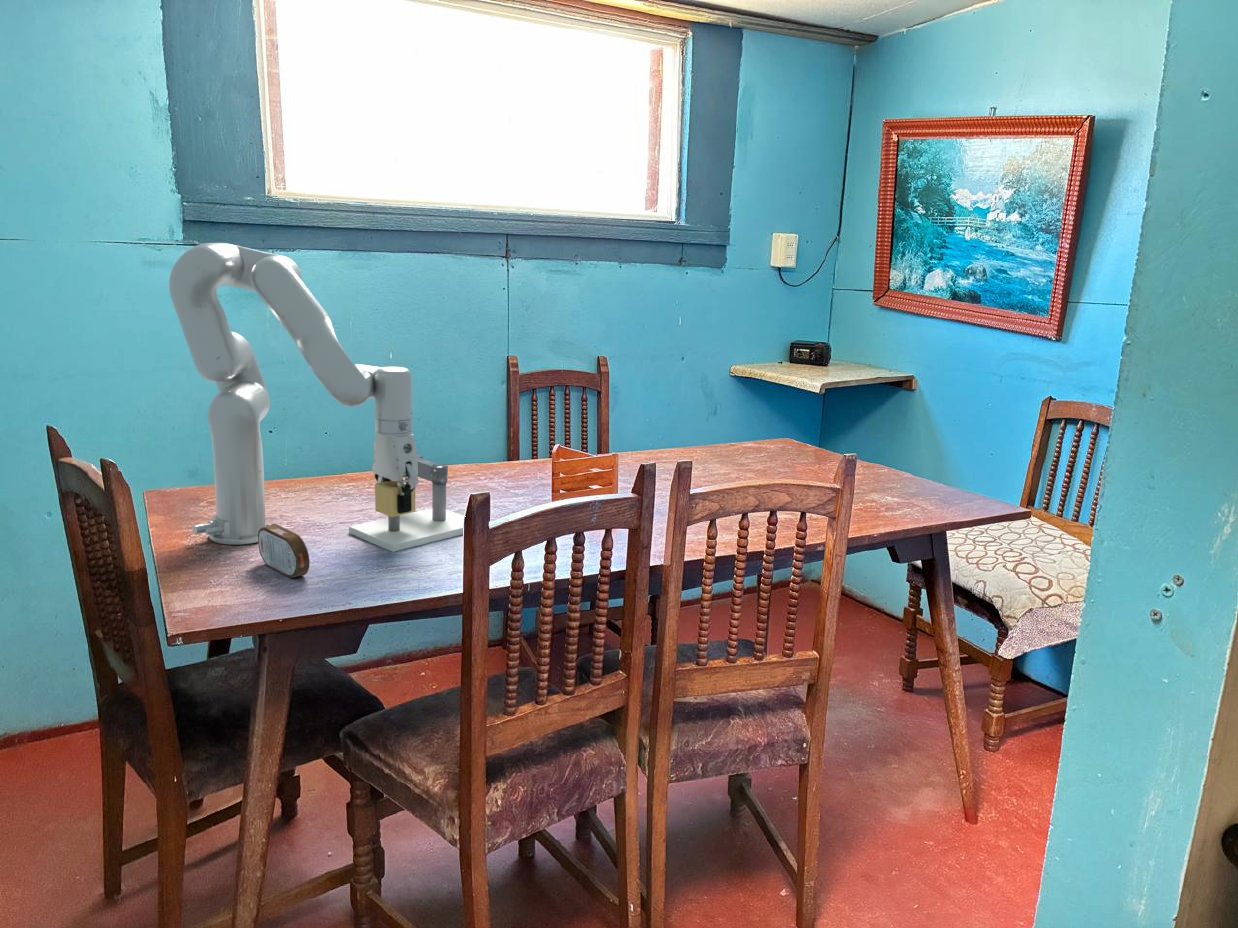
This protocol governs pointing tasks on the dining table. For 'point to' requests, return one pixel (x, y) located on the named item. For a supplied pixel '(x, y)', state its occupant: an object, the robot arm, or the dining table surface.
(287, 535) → the tin
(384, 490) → the collar
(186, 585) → the dining table surface
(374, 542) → the pin board
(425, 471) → the bar
